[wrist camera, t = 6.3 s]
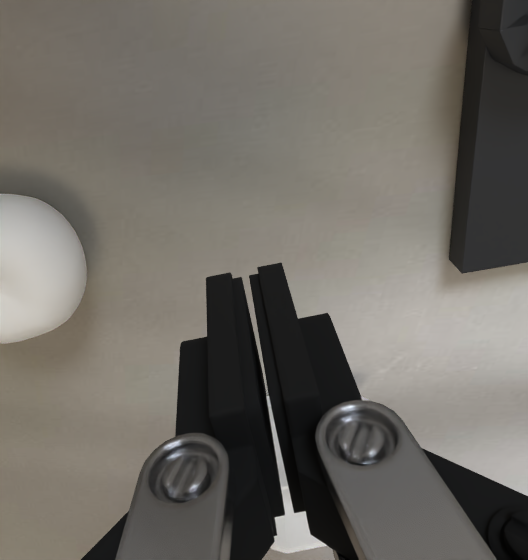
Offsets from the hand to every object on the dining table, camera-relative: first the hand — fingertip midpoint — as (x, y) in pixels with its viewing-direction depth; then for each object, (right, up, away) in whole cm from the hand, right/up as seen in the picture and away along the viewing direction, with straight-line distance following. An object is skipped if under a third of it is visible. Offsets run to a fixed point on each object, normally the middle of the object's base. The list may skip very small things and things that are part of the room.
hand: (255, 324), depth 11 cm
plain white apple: (-12, +3, +15) cm, 19 cm away
